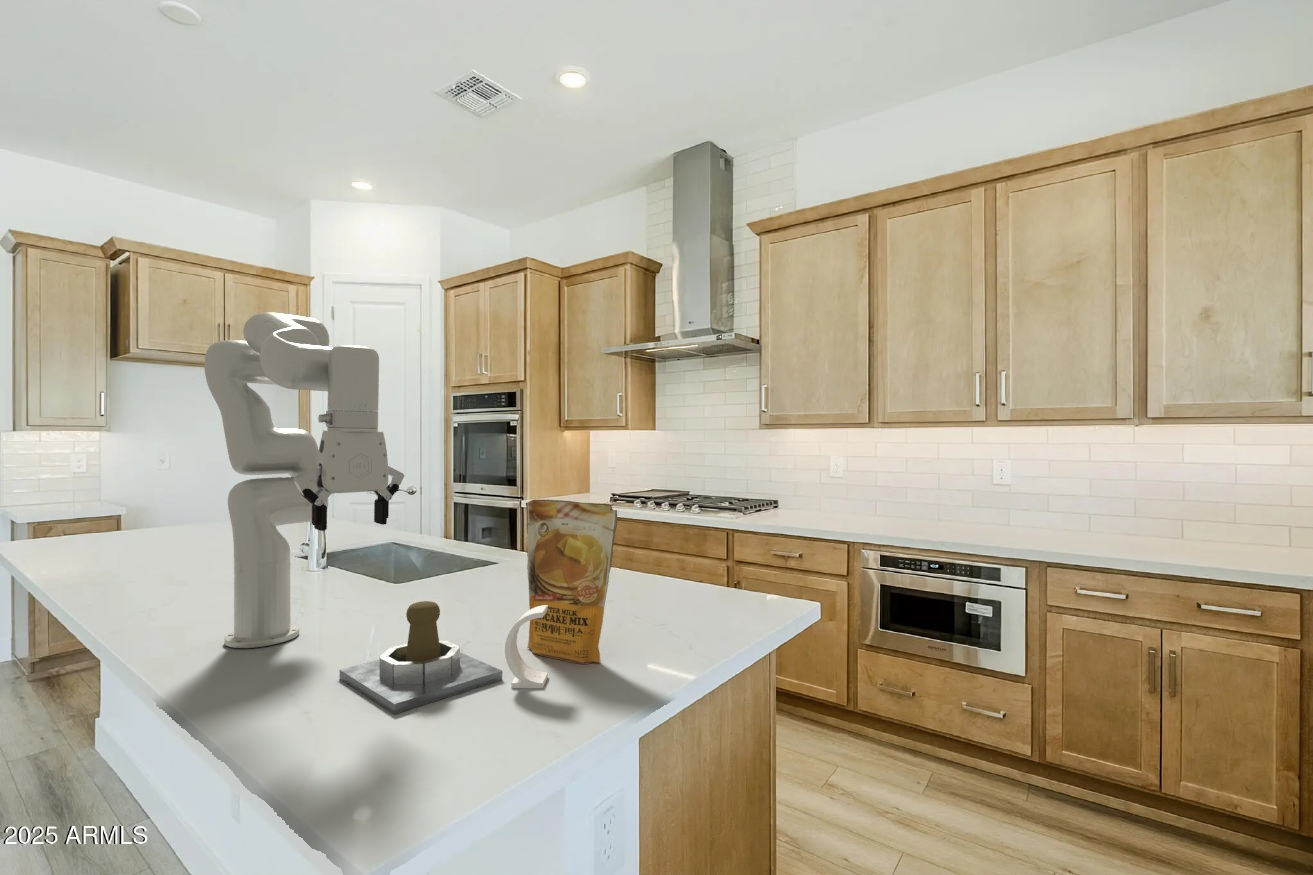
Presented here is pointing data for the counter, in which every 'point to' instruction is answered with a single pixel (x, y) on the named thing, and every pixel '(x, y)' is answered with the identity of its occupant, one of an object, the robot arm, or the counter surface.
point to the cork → (423, 632)
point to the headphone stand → (518, 667)
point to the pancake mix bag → (569, 576)
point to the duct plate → (418, 691)
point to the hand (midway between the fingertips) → (351, 526)
